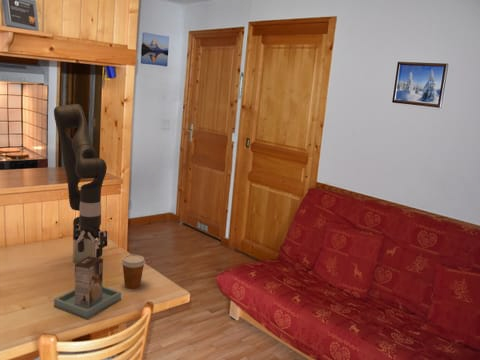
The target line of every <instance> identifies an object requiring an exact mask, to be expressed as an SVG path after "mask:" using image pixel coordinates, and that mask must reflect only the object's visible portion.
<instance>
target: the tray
mask: <svg viewBox="0 0 480 360" xmlns="http://www.w3.org/2000/svg"><path fill="white" fill-rule="evenodd" d="M121 300H122V292H121V291H118V290H116V289H112V288H109V287H107V286H104V285H102V297H101V298H100V299H99V300H98V301H97V302H95V303H94V304H93V305H92V306H91V307H85V306H80V305H76V304H75V288H74V289H72V290H70V291H68V292H65V293H64V294H62V295H60V296H58V297H56V298H53V307H54V308H56V309H58V310H61V311H64V312H67V313H70V314H72V315H75V316H77V317H80V318H83V319H84V318H85V319H84V320H89V319H91V318H92V317H94V316H96V315H97V314H99V313H101V312H102V311H104V310H106V309H107V308H109V307H110V306H112V305H114V304H115V303H117V302H119V301H121Z"/></svg>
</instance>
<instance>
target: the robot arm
mask: <svg viewBox="0 0 480 360" xmlns="http://www.w3.org/2000/svg"><path fill="white" fill-rule="evenodd" d="M53 118H54V121H55V127H56V129H57V133H58V138H59V142H60V147H61V154H62V162H63V166H64V171H65V174H66V175H65V176H66V181H67V189H68V190H67V191H68V200H69V202H68V203H69V207H70V209H71V210H73V211H78V213H79V214H78V215H79V216H77V217H74V219H73V221H72V224H73V225H72V226H73V227H72V229H73V230H72V262H73V263H75V264H77V263H79V262H80V261H82V260H83V259H85V258H86V257H88V256H90V257H96V258H102V256H103V252H104V251H103V249H104V248H106V247H108V231H107V230H101V229H100V228H101V226H102V225H101V224H102V199H101V198H102V189H103V188H102V187H103V183H104V180H105V177H106V174H107V167H108V166H107V163H106V161H105V159H103V158H100V157H99V158H98V157H97V158H96V149H95V147H94V144H93V143H92V140H91V137H90V136H91V135H90V131H89V127H88V121H87V118H86V114H85V111H84V109H83V107H82V106H81V104H79V103H72V104H65V105H59V106H56V107H54V109H53ZM76 128H77V130H76V132H75V134H74V135H73V137H71V136H70V135H69V133H68V132H67V130H71V129H76ZM82 179H93V180H92V181H91V182H88V183H84V184H82V185H81V186H80V188H79V183H80V181H81V180H82Z"/></svg>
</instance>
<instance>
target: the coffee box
mask: <svg viewBox="0 0 480 360" xmlns="http://www.w3.org/2000/svg"><path fill="white" fill-rule="evenodd" d="M103 267H104V259H103V258H102V257H99V258H97V257H90V256H88V257H86V258H85V259H83V260H82V261H80V262H79V263H75V264H74V289H75V304H76V305H80V306H85V307H91V306H92V305H93V304H94V303H95V302H97V301H98V300H99V299H100V298H101V297H102V286H103V278H104V277H103V274H104V271H103V270H104V268H103Z"/></svg>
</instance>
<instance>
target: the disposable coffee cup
mask: <svg viewBox="0 0 480 360" xmlns="http://www.w3.org/2000/svg"><path fill="white" fill-rule="evenodd" d="M121 264H122V272H123V281H124V287H125V288H126V289H132V290H134V289H138V288H140V286H141V282H142V278H143V271H144V266H145V264H146V260H145V257H144V256H142V255H139V254H128V255H125V256H124V257H122V260H121Z"/></svg>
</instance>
